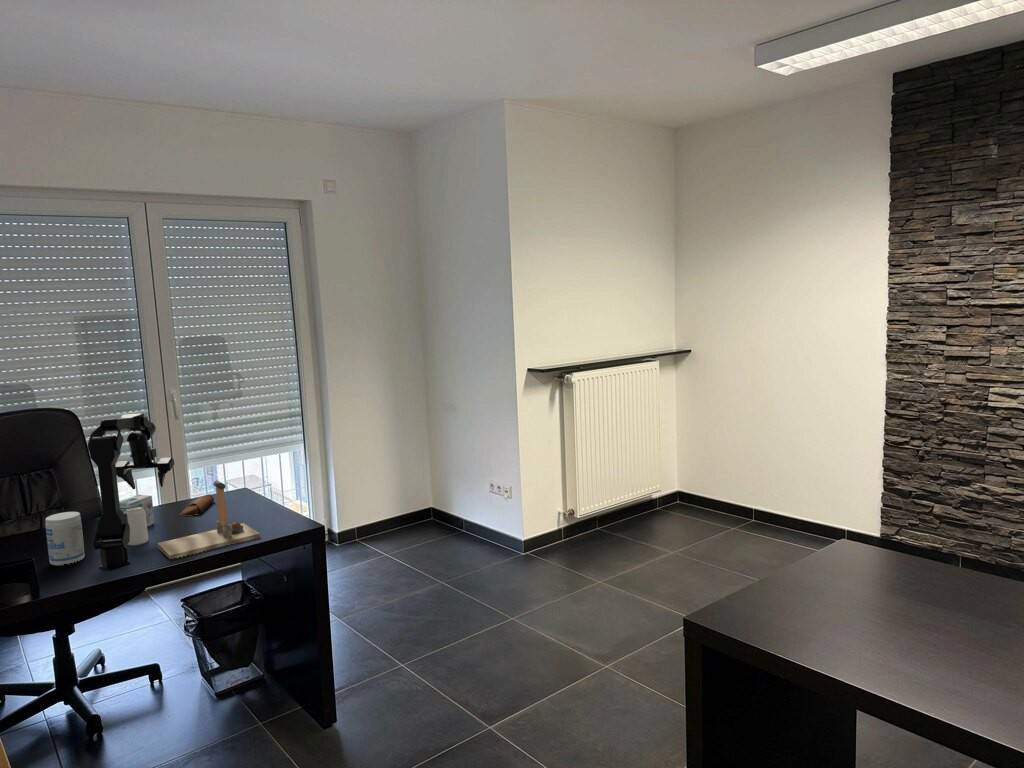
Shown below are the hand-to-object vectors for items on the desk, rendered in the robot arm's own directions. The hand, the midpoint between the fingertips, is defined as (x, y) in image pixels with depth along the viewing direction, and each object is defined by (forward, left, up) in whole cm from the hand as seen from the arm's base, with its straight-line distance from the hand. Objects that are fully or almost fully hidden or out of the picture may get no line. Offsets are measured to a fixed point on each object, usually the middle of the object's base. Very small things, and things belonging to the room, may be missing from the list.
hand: (148, 487), depth 251 cm
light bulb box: (0, +9, -16) cm, 18 cm away
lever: (+5, -33, -10) cm, 35 cm away
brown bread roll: (+23, +8, -16) cm, 30 cm away
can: (-10, -8, -16) cm, 21 cm away
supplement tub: (-30, -3, -16) cm, 34 cm away
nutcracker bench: (0, -32, -15) cm, 35 cm away
